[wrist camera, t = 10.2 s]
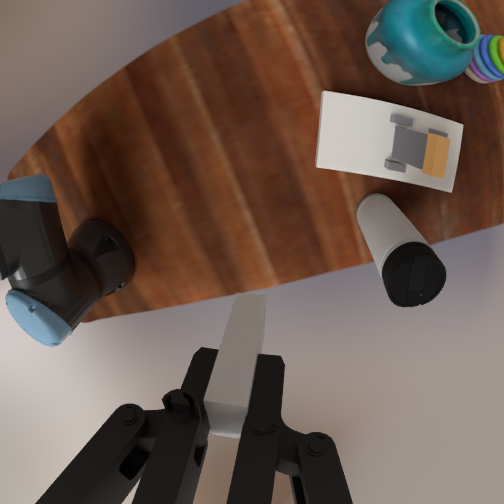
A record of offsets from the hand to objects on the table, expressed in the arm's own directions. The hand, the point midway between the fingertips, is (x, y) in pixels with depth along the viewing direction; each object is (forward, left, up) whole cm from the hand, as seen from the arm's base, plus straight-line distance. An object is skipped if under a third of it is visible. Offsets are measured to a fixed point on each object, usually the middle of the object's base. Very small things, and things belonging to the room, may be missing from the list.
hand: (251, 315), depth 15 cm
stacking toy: (+28, +25, -30) cm, 48 cm away
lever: (+14, +8, -24) cm, 29 cm away
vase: (+14, +21, -30) cm, 39 cm away
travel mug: (+14, -3, -30) cm, 33 cm away
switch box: (+14, +8, -29) cm, 33 cm away
